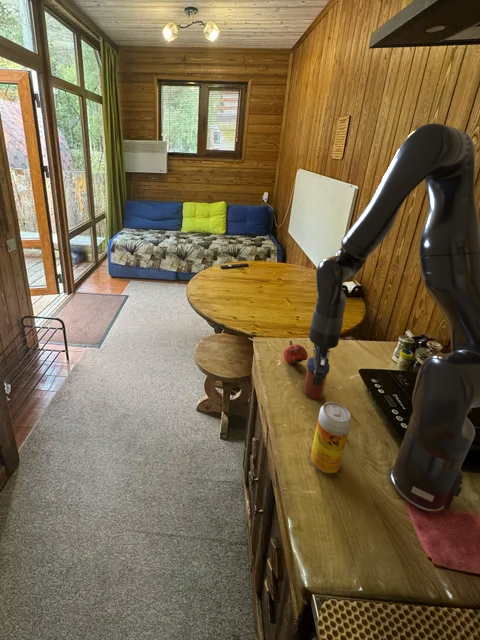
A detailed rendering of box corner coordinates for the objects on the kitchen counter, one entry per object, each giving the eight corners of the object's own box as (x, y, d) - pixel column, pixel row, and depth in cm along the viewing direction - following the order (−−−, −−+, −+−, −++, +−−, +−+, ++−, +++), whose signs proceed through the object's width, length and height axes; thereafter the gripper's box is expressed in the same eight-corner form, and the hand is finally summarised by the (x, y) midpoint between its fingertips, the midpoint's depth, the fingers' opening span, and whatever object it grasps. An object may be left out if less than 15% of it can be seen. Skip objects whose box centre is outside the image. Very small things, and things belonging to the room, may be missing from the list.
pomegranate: (308, 373, 101) (301, 343, 106) (314, 368, 95) (306, 336, 100) (285, 374, 101) (279, 344, 107) (290, 369, 95) (283, 338, 100)
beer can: (313, 473, 68) (325, 421, 62) (307, 448, 73) (317, 398, 68) (342, 477, 67) (356, 425, 62) (334, 451, 72) (346, 402, 67)
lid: (306, 359, 91) (307, 354, 90) (328, 364, 89) (329, 359, 88) (306, 372, 86) (307, 367, 85) (329, 378, 84) (330, 372, 83)
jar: (321, 387, 92) (326, 360, 89) (324, 400, 87) (330, 373, 84) (302, 384, 93) (307, 357, 90) (304, 397, 88) (309, 370, 85)
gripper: (343, 344, 75) (332, 396, 81) (338, 316, 88) (329, 363, 93) (311, 337, 77) (302, 388, 83) (311, 311, 90) (303, 357, 96)
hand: (316, 375), depth 88 cm, fingers open, 8 cm apart
